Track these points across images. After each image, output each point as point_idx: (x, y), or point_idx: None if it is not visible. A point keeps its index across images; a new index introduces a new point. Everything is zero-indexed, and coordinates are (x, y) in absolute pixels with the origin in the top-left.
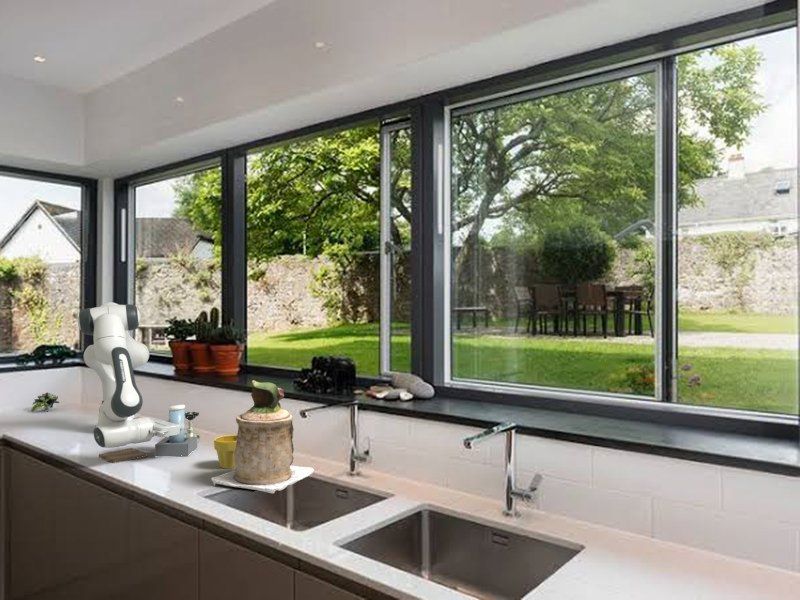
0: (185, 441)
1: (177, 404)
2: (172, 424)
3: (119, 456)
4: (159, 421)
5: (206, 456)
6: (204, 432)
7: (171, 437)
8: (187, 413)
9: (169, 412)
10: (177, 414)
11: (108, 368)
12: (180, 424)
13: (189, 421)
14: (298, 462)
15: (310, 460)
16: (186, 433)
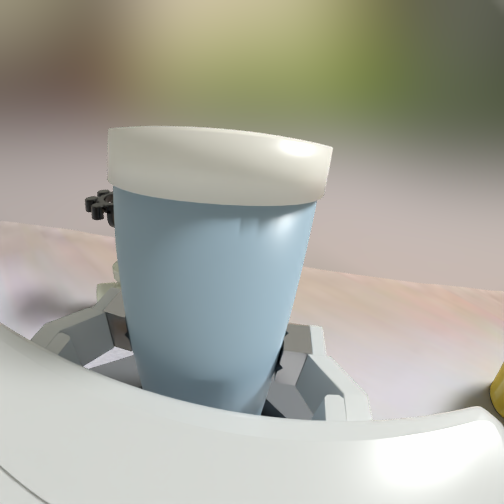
0: (281, 407)
1: (163, 126)
2: (461, 456)
3: None
4: (83, 455)
5: (385, 409)
6: (104, 241)
7: None
8: (105, 198)
9: (158, 247)
10: (298, 261)
11: None
12: (324, 357)
13: None
14: (501, 311)
15: (492, 298)
16: (113, 286)
